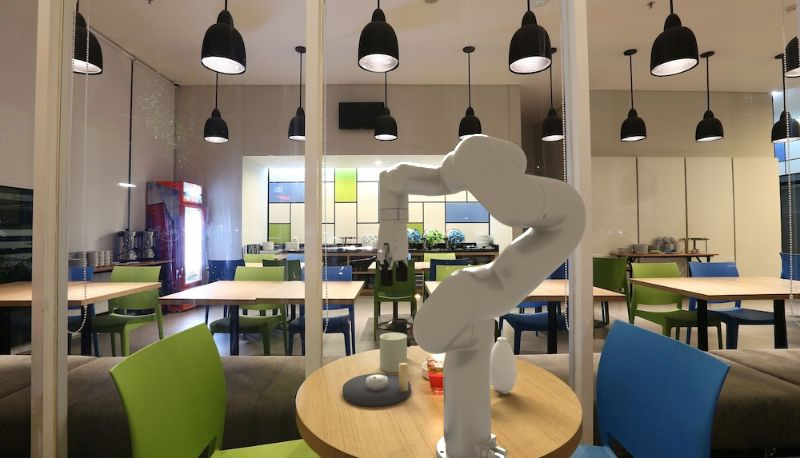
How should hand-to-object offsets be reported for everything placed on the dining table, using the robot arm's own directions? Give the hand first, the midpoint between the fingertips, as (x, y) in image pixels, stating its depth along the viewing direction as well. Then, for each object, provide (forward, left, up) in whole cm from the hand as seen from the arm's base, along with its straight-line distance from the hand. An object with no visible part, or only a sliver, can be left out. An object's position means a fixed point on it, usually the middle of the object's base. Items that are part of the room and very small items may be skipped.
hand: (394, 283), depth 95 cm
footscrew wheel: (+10, -2, -31) cm, 33 cm away
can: (+21, -18, -32) cm, 43 cm away
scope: (+30, -28, -32) cm, 52 cm away
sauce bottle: (-13, -29, -32) cm, 45 cm away
